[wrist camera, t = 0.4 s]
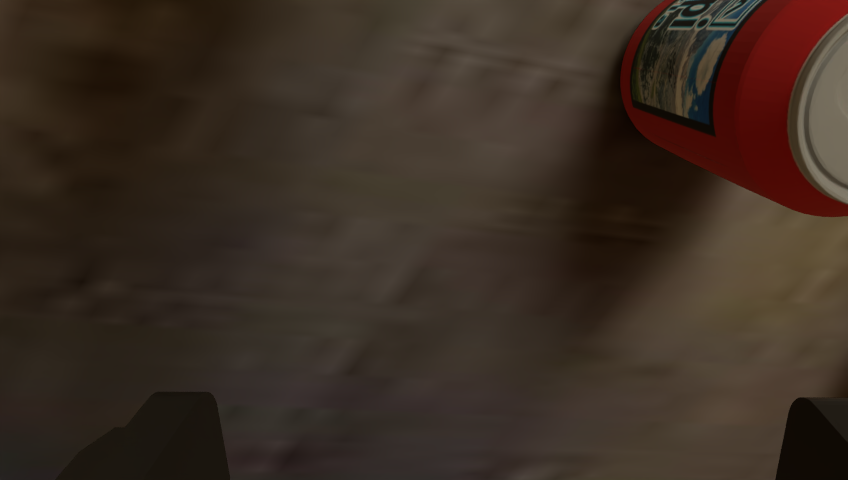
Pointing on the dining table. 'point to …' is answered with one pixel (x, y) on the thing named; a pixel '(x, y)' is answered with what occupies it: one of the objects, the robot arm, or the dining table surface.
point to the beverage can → (748, 94)
